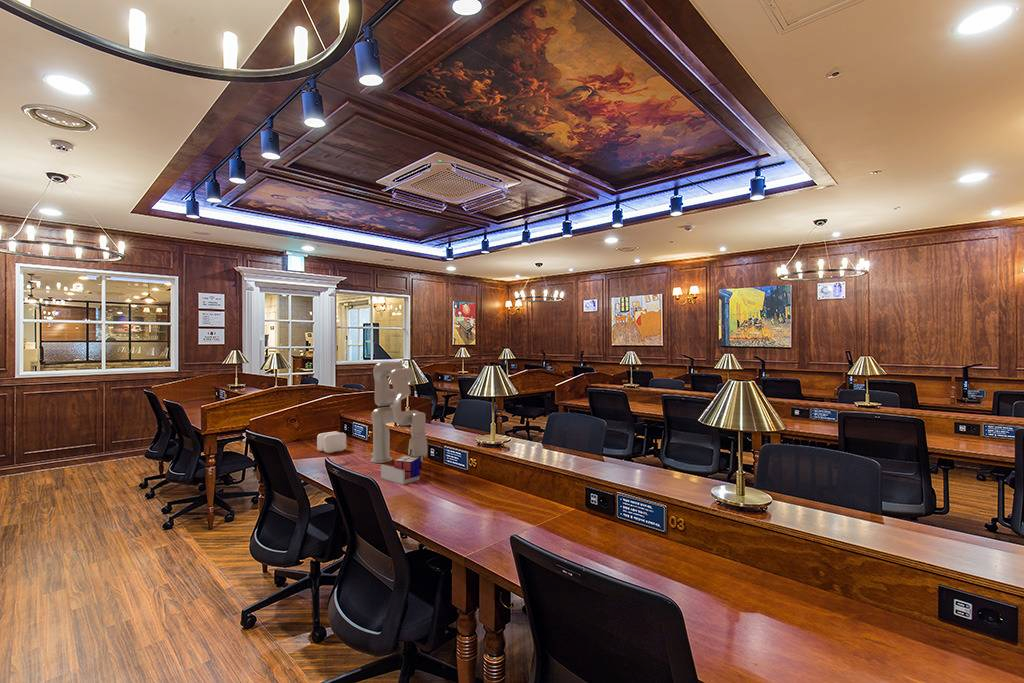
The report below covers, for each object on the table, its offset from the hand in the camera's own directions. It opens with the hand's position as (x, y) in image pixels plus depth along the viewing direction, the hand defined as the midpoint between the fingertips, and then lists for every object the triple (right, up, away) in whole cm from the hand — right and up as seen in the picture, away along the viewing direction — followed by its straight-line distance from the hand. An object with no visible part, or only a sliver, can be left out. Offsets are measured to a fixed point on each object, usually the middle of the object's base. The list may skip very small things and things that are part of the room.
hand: (418, 468), depth 253 cm
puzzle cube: (-4, -3, -7) cm, 9 cm away
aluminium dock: (-8, -3, -9) cm, 12 cm away
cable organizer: (-66, -2, +50) cm, 83 cm away
